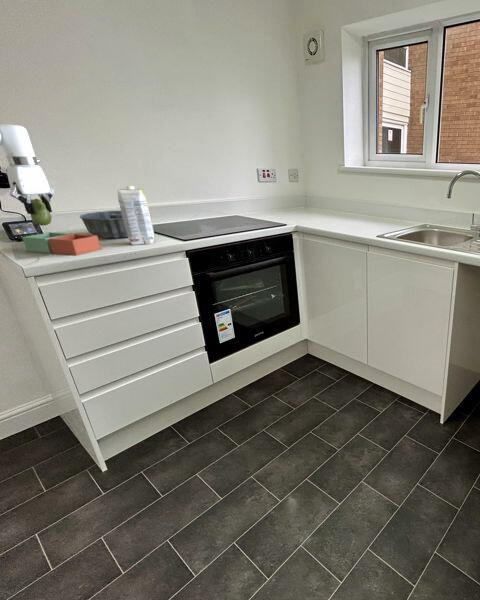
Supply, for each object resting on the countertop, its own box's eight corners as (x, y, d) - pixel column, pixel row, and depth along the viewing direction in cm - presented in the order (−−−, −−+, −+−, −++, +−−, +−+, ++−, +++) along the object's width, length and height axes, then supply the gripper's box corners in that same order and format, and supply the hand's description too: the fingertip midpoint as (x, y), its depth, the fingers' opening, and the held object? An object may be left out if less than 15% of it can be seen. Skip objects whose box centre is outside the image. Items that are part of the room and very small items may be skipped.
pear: (56, 224, 139) (48, 198, 135) (49, 226, 134) (40, 199, 131) (38, 224, 137) (29, 198, 133) (30, 226, 132) (21, 199, 129)
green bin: (50, 253, 134) (45, 238, 132) (26, 251, 135) (21, 237, 133) (76, 247, 144) (72, 233, 142) (54, 245, 145) (49, 232, 143)
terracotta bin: (76, 255, 133) (72, 240, 131) (53, 253, 134) (48, 238, 132) (101, 249, 142) (97, 235, 140) (79, 247, 144) (74, 234, 142)
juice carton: (156, 240, 160) (144, 185, 151) (155, 244, 154) (142, 187, 145) (131, 242, 156) (117, 185, 147) (128, 245, 149) (113, 187, 140)
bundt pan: (161, 236, 169) (156, 215, 165) (90, 243, 151) (84, 220, 147) (146, 228, 185) (142, 209, 182) (81, 234, 167) (75, 212, 164)
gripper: (39, 162, 136) (54, 209, 142) (-15, 161, 120) (5, 215, 127) (56, 162, 135) (71, 210, 142) (4, 162, 119) (23, 216, 126)
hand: (40, 212), depth 134 cm, fingers closed on pear, 4 cm apart
